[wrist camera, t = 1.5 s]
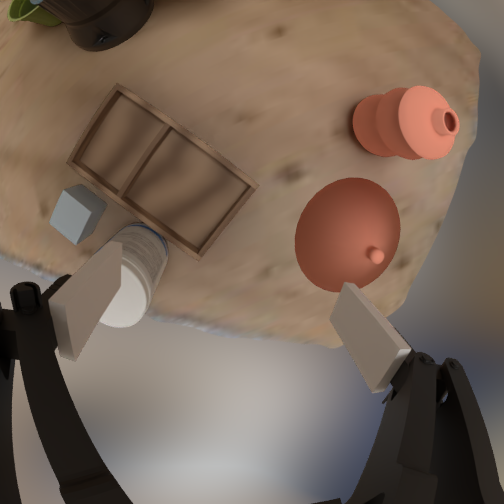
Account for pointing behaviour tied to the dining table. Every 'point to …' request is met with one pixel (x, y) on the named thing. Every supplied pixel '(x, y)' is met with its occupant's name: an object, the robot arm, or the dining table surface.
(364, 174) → the dining table surface
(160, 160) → the caddy
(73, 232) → the slate block
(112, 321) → the supplement tub
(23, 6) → the plant pot
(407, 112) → the ceramic vessels
